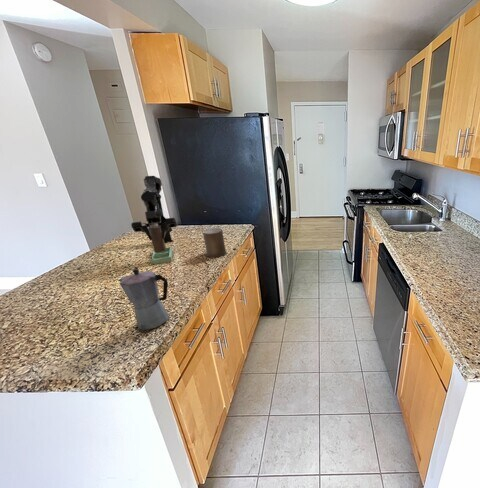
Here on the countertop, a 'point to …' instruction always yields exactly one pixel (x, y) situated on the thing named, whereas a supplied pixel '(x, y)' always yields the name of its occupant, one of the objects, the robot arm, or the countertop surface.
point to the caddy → (162, 256)
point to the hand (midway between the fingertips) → (157, 239)
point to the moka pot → (146, 298)
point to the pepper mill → (157, 237)
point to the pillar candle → (214, 242)
